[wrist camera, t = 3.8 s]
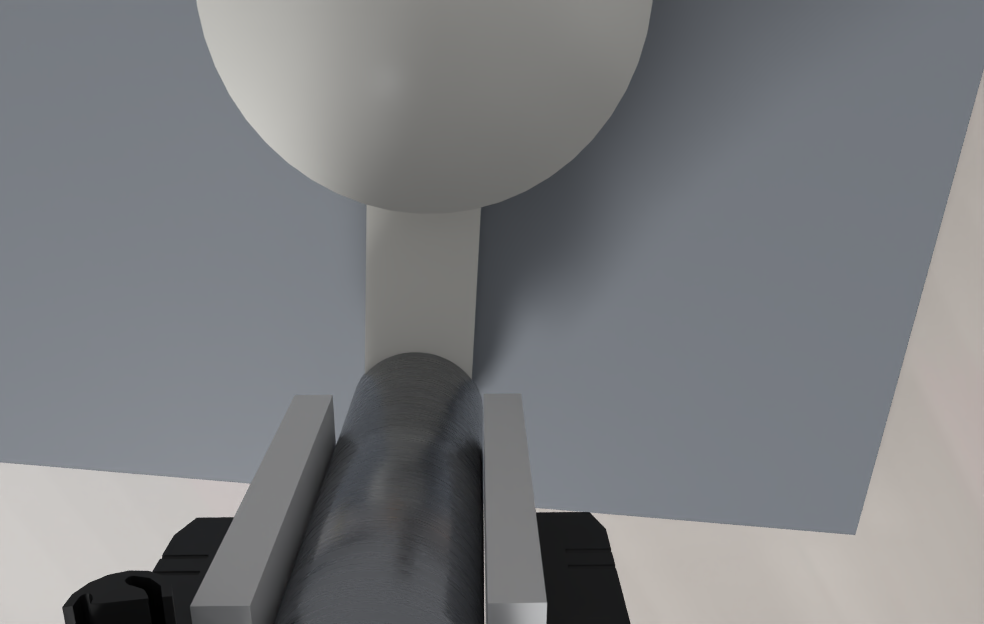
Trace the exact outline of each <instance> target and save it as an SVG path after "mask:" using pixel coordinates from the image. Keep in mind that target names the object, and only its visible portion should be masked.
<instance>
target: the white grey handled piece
mask: <svg viewBox="0 0 984 624" xmlns="http://www.w3.org/2000/svg"><path fill="white" fill-rule="evenodd" d="M196 2H197V8H198V12H199V17H200V21H201V25H202V29H203V34H204V38H205V40H206V43H207V46H208V48H209V51H210V54H211V57H212V59H213V62H214V65H215V67H216V69H217V71H218V73H219V75H220V77H221V79H222V81H223V83H224V85H225V87H226V89H227V91H228V93H229V95H230V96H231V98H232V99H233V101H234V102H235V104H236V105H237V107H238V108H239V110H240V111H241V113H242V114H243V116H244V117H245V119H246V120H247V121H248V122H249V124H250V125H251V126H252V127H253V128H254V129H255V131H256V132H257V133H258V134H259V135H260V136H261V138H262V139H263V140H264V141H265V142H266V143H267V144H268V145H269V146H270V147H271V148H272V149H273V150H274V151H275V152H277V153H278V154H279V155H280V156H281V157H282V158H283V159H284V160H285V161H286V162H287V163H289V164H290V165H292V166H293V167H294V168H296V169H297V170H299V171H300V172H301V173H303V174H304V175H306V176H307V177H308V178H310V179H311V180H313V181H315V182H317V183H318V184H320V185H322V186H324V187H326V188H328V189H330V190H331V191H333V192H335V193H337V194H340V195H342V196H345V197H347V198H350V199H352V200H355V201H358V202H360V203H363V204H366V205H367V211H366V306H365V373H364V374H363V376H362V377H361V379H360V381H359V382H358V384H357V387H356V390H355V392H354V395H353V398H352V401H351V404H350V407H349V409H348V412H347V415H346V418H345V421H344V424H343V427H342V429H341V432H340V435H339V438H338V441H337V444H336V447H335V449H334V452H333V455H332V458H331V461H330V464H329V467H328V469H327V472H326V475H325V478H324V481H323V484H322V486H321V489H320V492H319V495H318V498H317V501H316V504H315V506H314V509H313V512H312V515H311V518H310V521H309V524H308V526H307V529H306V532H305V535H304V538H303V541H302V544H301V546H300V549H299V552H298V555H297V558H296V561H295V564H294V566H293V569H292V572H291V575H290V578H289V581H288V584H287V586H286V589H285V592H284V595H283V598H282V601H281V604H280V606H279V609H278V612H277V615H276V618H275V621H274V624H484V510H483V403H482V397H481V394H480V391H479V388H478V386H477V384H476V382H475V380H474V379H473V377H472V366H473V347H474V328H475V309H476V291H477V272H478V253H479V234H480V216H481V207H484V206H488V205H492V204H495V203H499V202H502V201H504V200H506V199H509V198H511V197H513V196H516V195H518V194H521V193H523V192H525V191H527V190H529V189H530V188H532V187H534V186H536V185H537V184H539V183H541V182H542V181H544V180H546V179H548V178H549V177H551V176H552V175H553V174H555V173H556V172H557V171H559V170H560V169H561V168H562V167H564V166H565V165H566V164H568V163H569V162H570V161H571V160H573V159H574V158H575V157H576V156H577V155H578V154H579V153H580V152H581V151H582V150H583V149H584V148H585V147H586V146H587V145H588V144H589V143H590V142H591V141H592V140H593V139H594V137H595V136H596V135H597V133H598V132H599V131H600V130H601V128H602V127H603V126H604V124H605V123H606V122H607V121H608V119H609V118H610V117H611V115H612V113H613V112H614V110H615V108H616V107H617V105H618V103H619V102H620V100H621V98H622V97H623V95H624V93H625V92H626V90H627V87H628V85H629V83H630V81H631V78H632V76H633V74H634V72H635V69H636V67H637V65H638V62H639V59H640V56H641V52H642V49H643V46H644V42H645V39H646V36H647V32H648V26H649V20H650V14H651V8H652V2H653V0H196Z"/></svg>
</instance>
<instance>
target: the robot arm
mask: <svg viewBox="0 0 984 624" xmlns="http://www.w3.org/2000/svg"><path fill="white" fill-rule="evenodd" d="M335 447H336V439H335V423H334V408H333V395H295V396H294V398H293V400H292V402H291V404H290V406H289V408H288V410H287V412H286V414H285V416H284V418H283V420H282V422H281V424H280V426H279V428H278V430H277V432H276V434H275V436H274V438H273V440H272V442H271V444H270V446H269V448H268V450H267V452H266V454H265V456H264V458H263V460H262V462H261V464H260V466H259V468H258V470H257V472H256V474H255V476H254V478H253V480H252V482H251V484H250V486H249V488H248V490H247V492H246V494H245V496H244V498H243V500H242V502H241V504H240V506H239V509H238V511H237V513H236V515H235V517H221V518H196V519H195V520H193V521H192V522H191V523H189V524H188V525H187V526H186V527H184V528H183V529H182V530H180V531H179V532H178V533H176V534H175V535H174V536H173V538H172V540H171V541H170V543H169V545H168V546H167V548H166V550H165V551H164V553H163V555H162V559H160V560H159V561H158V563H157V565H156V566H155V568H154V570H153V572H151V571H125V572H120V573H115V574H110V575H107V576H105V577H102V578H100V579H97V580H95V581H92V582H90V583H88V584H87V585H85V586H84V587H82V588H81V589H79V590H78V591H76V592H75V593H74V594H72V595H71V597H70V598H69V599H68V601H67V602H66V603H65V604H64V606H63V607H62V608H63V614H64V619H65V624H274V621H275V618H276V615H277V612H278V609H279V606H280V604H281V601H282V598H283V595H284V592H285V589H286V586H287V584H288V581H289V578H290V575H291V572H292V569H293V566H294V564H295V561H296V558H297V555H298V552H299V549H300V546H301V544H302V541H303V538H304V535H305V532H306V529H307V526H308V524H309V521H310V518H311V515H312V512H313V509H314V506H315V504H316V501H317V498H318V495H319V492H320V489H321V486H322V484H323V481H324V478H325V475H326V472H327V469H328V467H329V464H330V461H331V458H332V455H333V452H334V449H335ZM484 556H485V620H486V624H630V620H629V616H628V612H627V609H626V605H625V601H624V597H623V593H622V589H621V585H620V582H619V578H618V574H617V570H616V568H615V562H614V559H613V555H612V552H611V547H610V543H609V539H608V535H607V532H606V529H605V528H604V527H603V526H602V525H601V524H600V523H599V522H598V520H597V519H596V518H595V517H594V516H593V515H592V514H591V513H590V512H539V513H536V510H535V502H534V494H533V486H532V478H531V470H530V462H529V453H528V445H527V437H526V429H525V421H524V413H523V405H522V397H521V394H484Z"/></svg>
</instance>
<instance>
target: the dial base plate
mask: <svg viewBox="0 0 984 624" xmlns="http://www.w3.org/2000/svg"><path fill="white" fill-rule="evenodd" d="M983 69H984V0H653V2H652V8H651V14H650V20H649V26H648V32H647V36H646V39H645V42H644V46H643V49H642V52H641V56H640V59H639V62H638V65H637V67H636V69H635V72H634V74H633V76H632V78H631V81H630V83H629V85H628V87H627V90H626V92H625V93H624V95H623V97H622V98H621V100H620V102H619V103H618V105H617V107H616V108H615V110H614V112H613V113H612V115H611V117H610V118H609V119H608V121H607V122H606V123H605V124H604V126H603V127H602V128H601V130H600V131H599V132H598V133H597V135H596V136H595V137H594V139H593V140H592V141H591V142H590V143H589V144H588V145H587V146H586V147H585V148H584V149H583V150H582V151H581V152H580V153H579V154H578V155H577V156H576V157H575V158H574V159H573V160H571V161H570V162H569V163H568V164H566V165H565V166H564V167H562V168H561V169H560V170H559V171H557V172H556V173H555V174H553V175H552V176H551V177H549V178H548V179H546V180H544V181H542V182H541V183H539V184H537V185H536V186H534V187H532V188H530V189H529V190H527V191H525V192H523V193H521V194H518V195H516V196H513V197H511V198H509V199H506V200H504V201H502V202H499V203H495V204H492V205H488V206H484V207H481V216H480V234H479V253H478V272H477V291H476V309H475V328H474V347H473V366H472V377H473V379H474V380H475V382H476V384H477V386H478V388H479V391H480V394H481V397H482V403H483V503H484V394H521V397H522V405H523V413H524V421H525V429H526V437H527V445H528V453H529V462H530V470H531V478H532V486H533V494H534V502H535V508H544V509H556V510H568V511H580V512H592V513H603V514H615V515H627V516H639V517H650V518H662V519H674V520H686V521H698V522H709V523H721V524H733V525H745V526H756V527H768V528H780V529H792V530H804V531H815V532H827V533H839V534H851V535H855V534H856V530H857V526H858V523H859V519H860V515H861V512H862V508H863V505H864V501H865V497H866V494H867V490H868V486H869V483H870V479H871V476H872V472H873V468H874V465H875V461H876V457H877V454H878V450H879V447H880V443H881V439H882V436H883V432H884V428H885V425H886V421H887V418H888V414H889V410H890V407H891V403H892V399H893V396H894V392H895V389H896V385H897V381H898V378H899V374H900V370H901V367H902V363H903V360H904V356H905V352H906V349H907V345H908V341H909V338H910V334H911V331H912V327H913V323H914V320H915V316H916V312H917V309H918V305H919V302H920V298H921V294H922V291H923V287H924V283H925V280H926V276H927V273H928V269H929V265H930V262H931V258H932V254H933V251H934V247H935V244H936V240H937V236H938V233H939V229H940V225H941V222H942V218H943V215H944V211H945V207H946V204H947V200H948V196H949V193H950V189H951V186H952V182H953V178H954V175H955V171H956V167H957V164H958V160H959V156H960V153H961V149H962V146H963V142H964V138H965V135H966V131H967V127H968V124H969V120H970V117H971V113H972V109H973V106H974V102H975V98H976V95H977V91H978V88H979V84H980V80H981V77H982V73H983ZM366 211H367V205H366V204H363V203H360V202H358V201H355V200H352V199H350V198H347V197H345V196H342V195H340V194H337V193H335V192H333V191H331V190H330V189H328V188H326V187H324V186H322V185H320V184H318V183H317V182H315V181H313V180H311V179H310V178H308V177H307V176H306V175H304V174H303V173H301V172H300V171H299V170H297V169H296V168H294V167H293V166H292V165H290V164H289V163H287V162H286V161H285V160H284V159H283V158H282V157H281V156H280V155H279V154H278V153H277V152H275V151H274V150H273V149H272V148H271V147H270V146H269V145H268V144H267V143H266V142H265V141H264V140H263V139H262V138H261V136H260V135H259V134H258V133H257V132H256V131H255V129H254V128H253V127H252V126H251V125H250V124H249V122H248V121H247V120H246V119H245V117H244V116H243V114H242V113H241V111H240V110H239V108H238V107H237V105H236V104H235V102H234V101H233V99H232V98H231V96H230V95H229V93H228V91H227V89H226V87H225V85H224V83H223V81H222V79H221V77H220V75H219V73H218V71H217V69H216V67H215V65H214V62H213V59H212V57H211V54H210V51H209V48H208V46H207V43H206V40H205V38H204V34H203V29H202V25H201V21H200V17H199V12H198V8H197V2H196V0H0V462H3V463H15V464H26V465H38V466H50V467H62V468H73V469H85V470H97V471H109V472H121V473H132V474H144V475H156V476H168V477H179V478H191V479H203V480H215V481H227V482H238V483H250V484H251V482H252V480H253V478H254V476H255V474H256V472H257V470H258V468H259V466H260V464H261V462H262V460H263V458H264V456H265V454H266V452H267V450H268V448H269V446H270V444H271V442H272V440H273V438H274V436H275V434H276V432H277V430H278V428H279V426H280V424H281V422H282V420H283V418H284V416H285V414H286V412H287V410H288V408H289V406H290V404H291V402H292V400H293V398H294V396H295V395H333V408H334V423H335V439H336V444H337V441H338V438H339V435H340V432H341V429H342V427H343V424H344V421H345V418H346V415H347V412H348V409H349V407H350V404H351V401H352V398H353V395H354V392H355V390H356V387H357V384H358V382H359V381H360V379H361V377H362V376H363V374H364V373H365V306H366Z"/></svg>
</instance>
